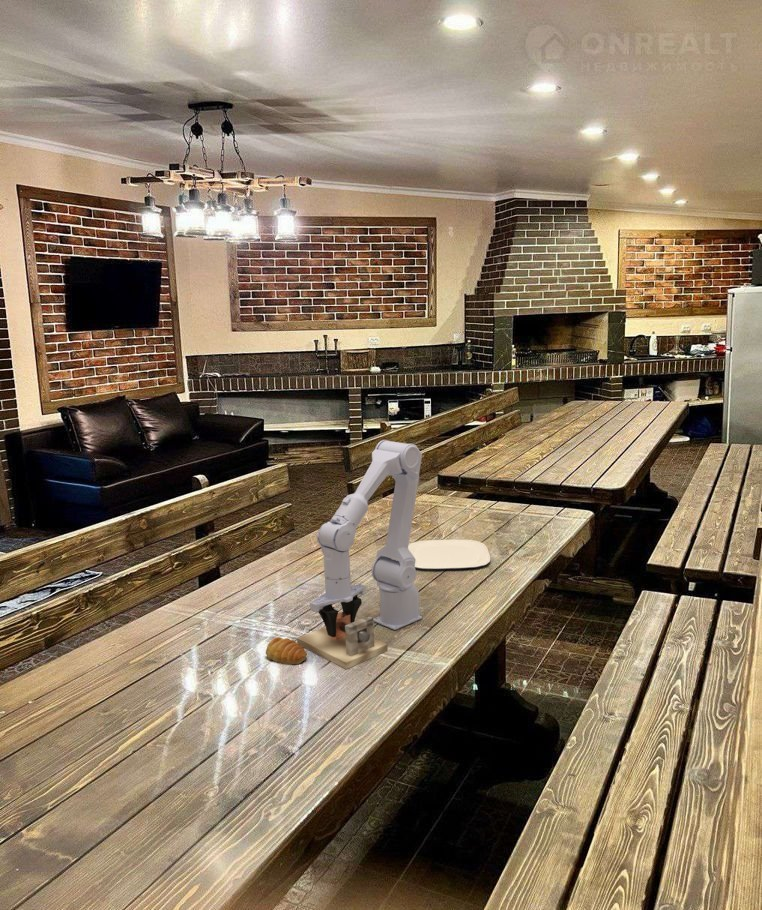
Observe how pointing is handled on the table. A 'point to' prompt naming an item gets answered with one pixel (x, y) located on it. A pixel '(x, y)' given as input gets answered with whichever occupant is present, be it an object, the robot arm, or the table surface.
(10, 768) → the table surface
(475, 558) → the plate
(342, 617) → the bolt
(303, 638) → the latch board
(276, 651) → the pastry
